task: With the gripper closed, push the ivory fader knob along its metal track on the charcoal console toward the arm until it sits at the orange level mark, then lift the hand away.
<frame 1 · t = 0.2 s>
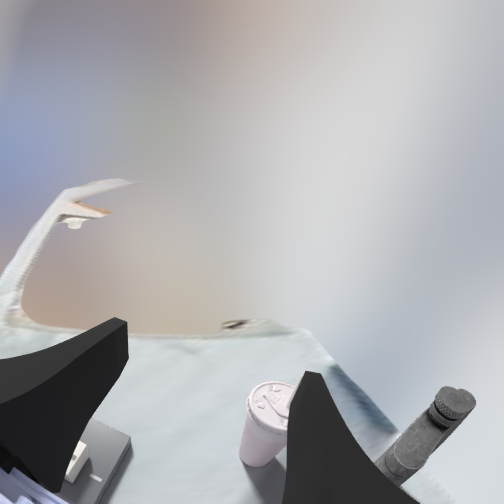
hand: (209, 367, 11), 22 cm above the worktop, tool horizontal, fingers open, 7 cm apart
smoothie: (254, 454, 28), on the worktop
fader knob: (57, 450, 18), point 3 cm above the worktop, slide at 0.0 cm
console: (48, 486, 15), on the worktop
flask: (351, 502, 23), on the worktop
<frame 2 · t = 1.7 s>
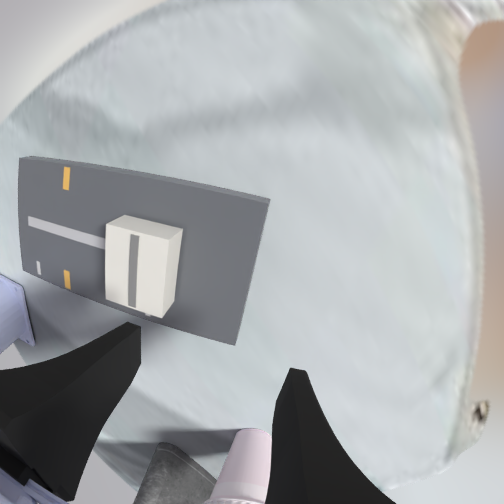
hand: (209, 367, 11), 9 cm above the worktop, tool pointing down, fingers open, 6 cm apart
smoothie: (254, 436, 26), on the worktop
fader knob: (141, 265, 17), point 3 cm above the worktop, slide at 0.0 cm
console: (117, 237, 20), on the worktop
flask: (197, 470, 31), on the worktop
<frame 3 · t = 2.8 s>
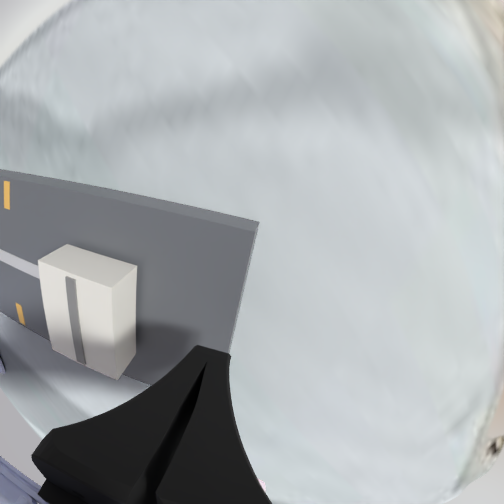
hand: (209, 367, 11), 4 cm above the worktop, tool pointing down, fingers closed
fader knob: (88, 312, 12), point 3 cm above the worktop, slide at 0.0 cm
console: (69, 267, 15), on the worktop
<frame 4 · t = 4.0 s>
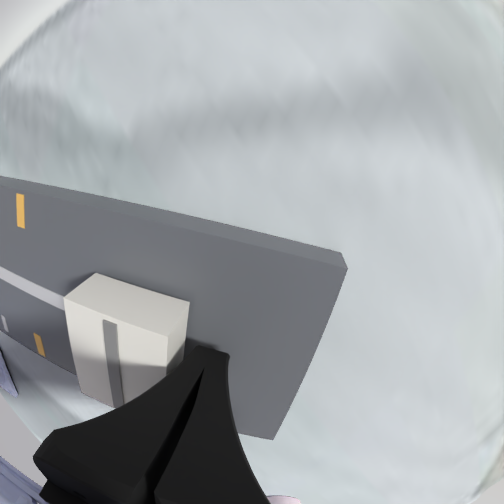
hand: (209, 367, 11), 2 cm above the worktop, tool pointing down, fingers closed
smoothie: (280, 500, 19), on the worktop
fader knob: (126, 354, 10), point 3 cm above the worktop, slide at 0.4 cm, touching gripper
console: (100, 297, 13), on the worktop
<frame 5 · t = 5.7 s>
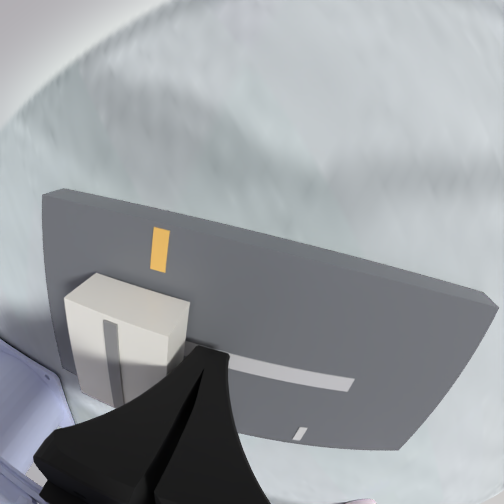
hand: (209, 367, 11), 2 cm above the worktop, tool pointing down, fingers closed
fader knob: (127, 354, 10), point 3 cm above the worktop, slide at 8.0 cm, touching gripper
console: (252, 343, 13), on the worktop
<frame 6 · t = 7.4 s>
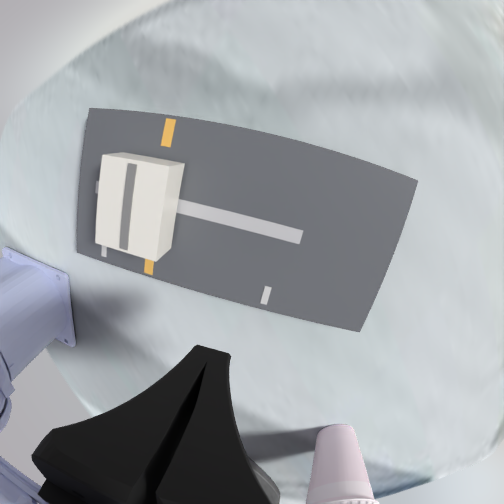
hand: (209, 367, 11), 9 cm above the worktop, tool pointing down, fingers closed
smoothie: (335, 433, 24), on the worktop
fader knob: (136, 203, 15), point 3 cm above the worktop, slide at 8.1 cm
console: (227, 210, 18), on the worktop
flask: (256, 475, 29), on the worktop
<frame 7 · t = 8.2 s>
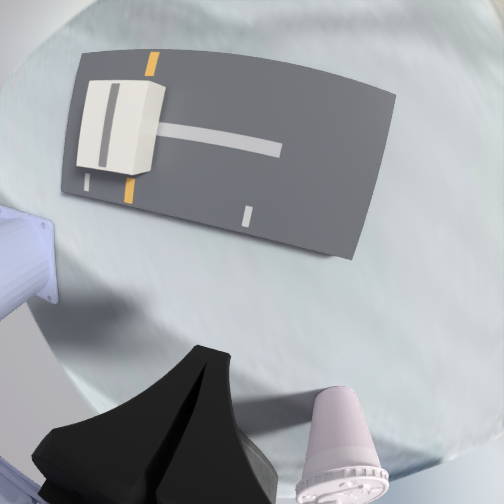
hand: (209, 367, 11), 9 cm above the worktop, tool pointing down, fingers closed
smoothie: (335, 398, 23), on the worktop
fader knob: (118, 125, 14), point 3 cm above the worktop, slide at 8.1 cm
console: (207, 135, 17), on the worktop
flask: (250, 454, 28), on the worktop
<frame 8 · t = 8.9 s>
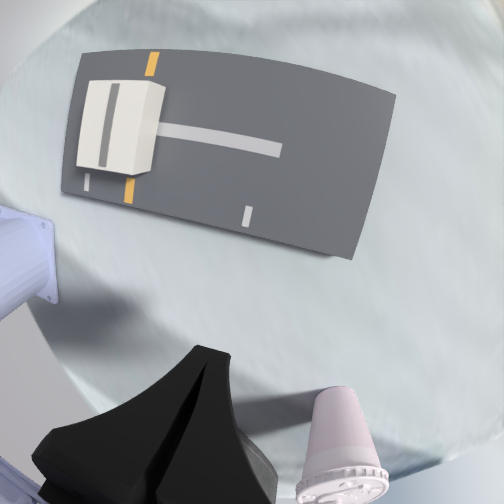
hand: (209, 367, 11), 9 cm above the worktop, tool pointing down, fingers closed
smoothie: (335, 398, 23), on the worktop
fader knob: (118, 125, 14), point 3 cm above the worktop, slide at 8.1 cm
console: (207, 135, 17), on the worktop
flask: (250, 454, 28), on the worktop
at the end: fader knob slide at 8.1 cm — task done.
